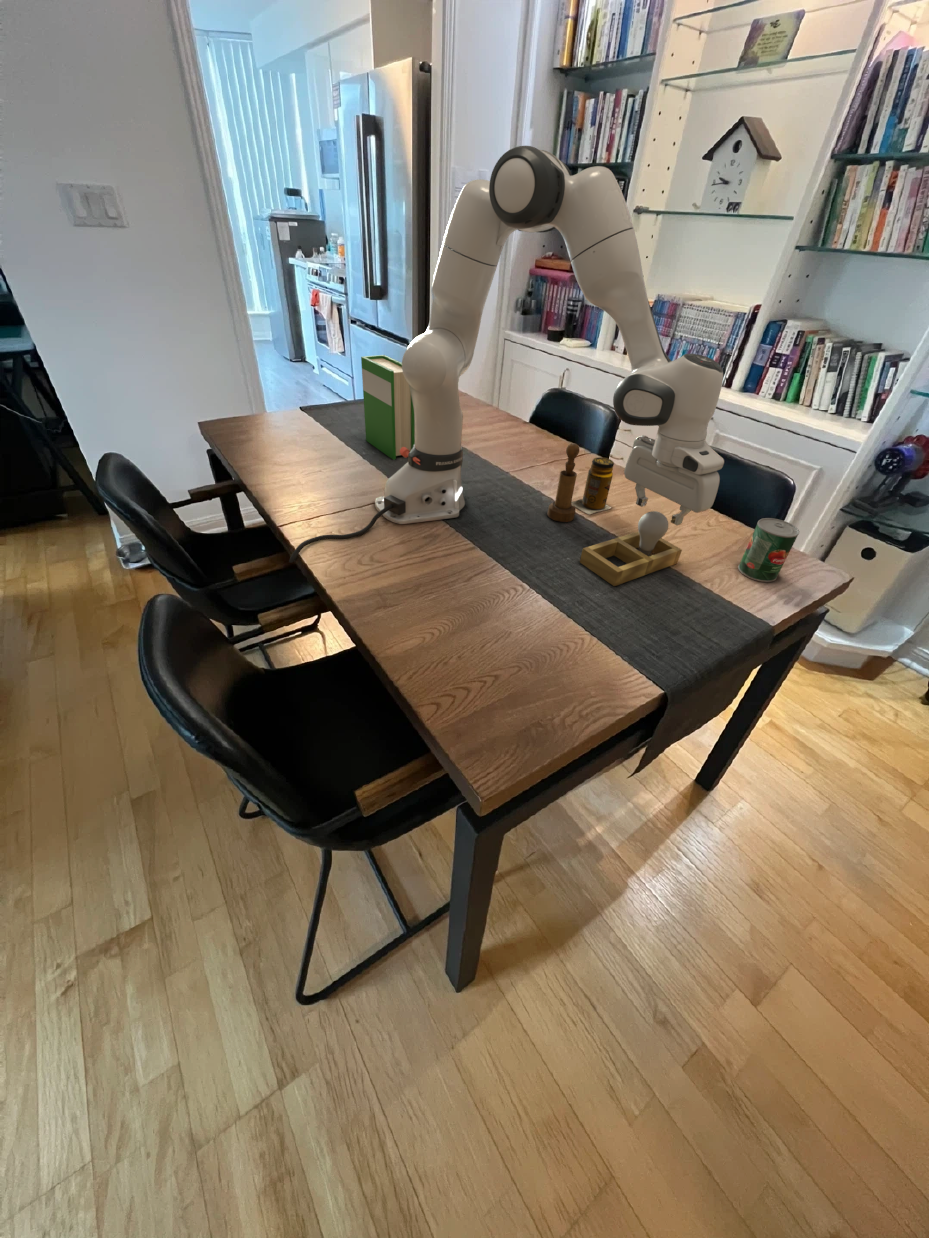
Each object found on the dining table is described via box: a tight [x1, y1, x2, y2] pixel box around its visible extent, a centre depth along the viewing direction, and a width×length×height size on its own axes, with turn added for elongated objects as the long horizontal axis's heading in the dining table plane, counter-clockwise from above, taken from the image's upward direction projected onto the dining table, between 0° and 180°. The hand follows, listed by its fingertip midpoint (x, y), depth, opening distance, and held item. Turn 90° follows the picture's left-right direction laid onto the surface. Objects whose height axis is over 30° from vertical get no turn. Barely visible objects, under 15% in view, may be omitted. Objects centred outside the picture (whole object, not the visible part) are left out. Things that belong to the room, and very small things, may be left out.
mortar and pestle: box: [546, 442, 580, 523], centre depth 125 cm, size 7×6×18 cm
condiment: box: [571, 456, 615, 515], centre depth 133 cm, size 7×8×12 cm
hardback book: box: [360, 354, 415, 460], centre depth 153 cm, size 18×7×24 cm, turn 34°
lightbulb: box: [637, 510, 669, 557], centre depth 113 cm, size 6×6×11 cm
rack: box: [579, 530, 683, 587], centre depth 114 cm, size 19×10×4 cm, turn 122°
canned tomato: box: [737, 517, 800, 583], centre depth 111 cm, size 8×8×11 cm
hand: (657, 514), depth 110 cm, fingers open, 8 cm apart
